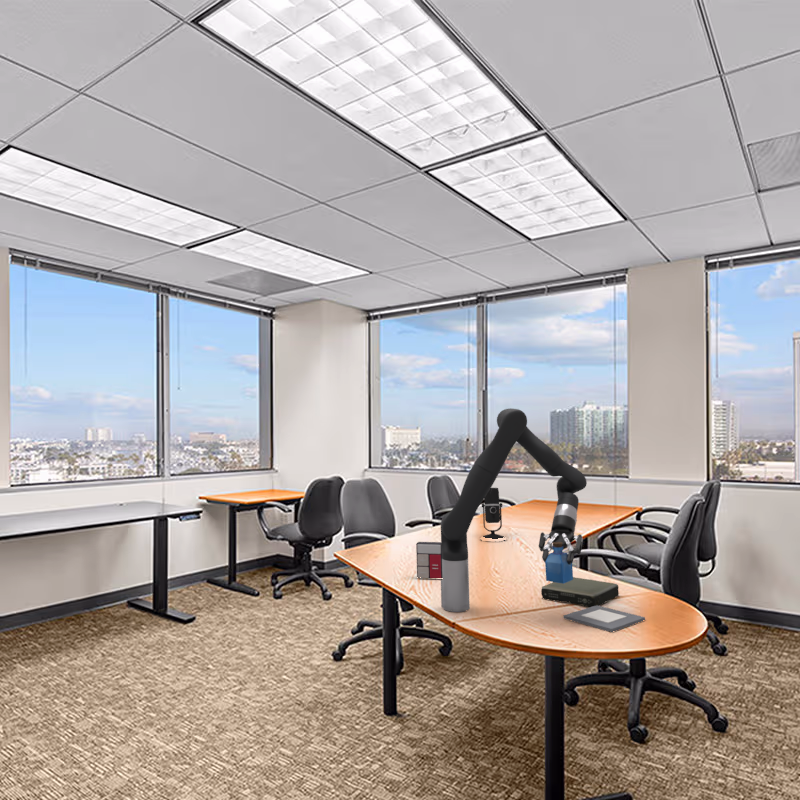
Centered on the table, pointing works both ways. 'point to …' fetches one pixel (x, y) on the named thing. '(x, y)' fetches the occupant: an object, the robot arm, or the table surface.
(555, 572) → the perfume bottle
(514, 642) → the table surface
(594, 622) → the mat
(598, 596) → the network switch
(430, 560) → the grey and red box
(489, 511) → the microphone
